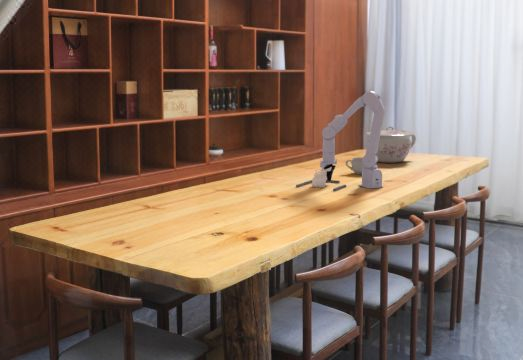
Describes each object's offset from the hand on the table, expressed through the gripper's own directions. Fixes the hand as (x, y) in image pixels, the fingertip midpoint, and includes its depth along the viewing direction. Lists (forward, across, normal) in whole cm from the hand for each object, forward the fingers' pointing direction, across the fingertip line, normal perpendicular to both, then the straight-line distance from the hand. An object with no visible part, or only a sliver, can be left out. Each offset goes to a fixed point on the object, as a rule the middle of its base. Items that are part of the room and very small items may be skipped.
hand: (328, 180), depth 314 cm
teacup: (+2, -36, 0) cm, 37 cm away
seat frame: (+2, +4, 0) cm, 4 cm away
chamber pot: (+2, -86, -2) cm, 86 cm away
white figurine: (+2, +6, 0) cm, 6 cm away
